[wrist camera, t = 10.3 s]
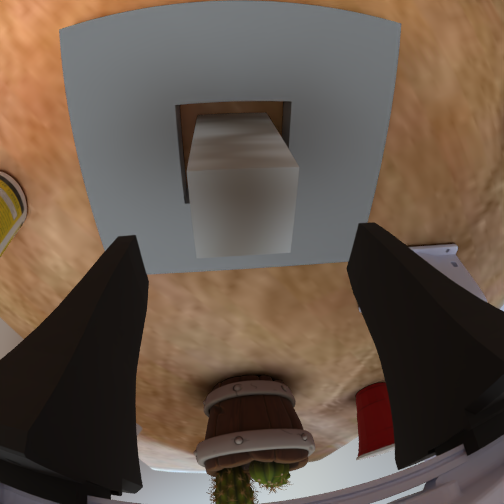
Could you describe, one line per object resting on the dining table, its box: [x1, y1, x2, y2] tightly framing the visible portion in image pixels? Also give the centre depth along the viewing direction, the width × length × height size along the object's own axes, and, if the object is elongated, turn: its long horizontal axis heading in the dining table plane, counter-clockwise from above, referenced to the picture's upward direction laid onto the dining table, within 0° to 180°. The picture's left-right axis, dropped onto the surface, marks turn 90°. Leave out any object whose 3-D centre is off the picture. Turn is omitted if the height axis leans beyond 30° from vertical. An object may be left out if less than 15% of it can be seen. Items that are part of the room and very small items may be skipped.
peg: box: [187, 113, 299, 258], centre depth 15 cm, size 4×4×8 cm
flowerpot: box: [194, 375, 315, 504], centre depth 32 cm, size 14×15×20 cm
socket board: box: [59, 1, 401, 274], centre depth 17 cm, size 18×17×2 cm
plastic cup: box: [356, 382, 395, 460], centre depth 42 cm, size 11×11×12 cm
